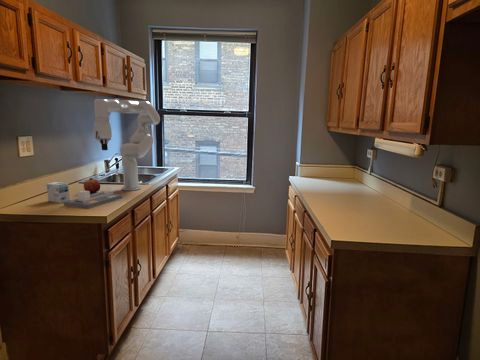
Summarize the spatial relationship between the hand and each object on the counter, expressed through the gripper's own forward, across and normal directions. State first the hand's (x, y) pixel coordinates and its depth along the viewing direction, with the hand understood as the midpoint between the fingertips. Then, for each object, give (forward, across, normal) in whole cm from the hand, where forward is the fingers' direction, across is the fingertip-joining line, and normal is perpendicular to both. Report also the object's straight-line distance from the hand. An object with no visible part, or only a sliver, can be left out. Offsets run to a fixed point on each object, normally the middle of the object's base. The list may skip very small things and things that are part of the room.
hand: (104, 150), depth 199 cm
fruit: (+29, -2, -15) cm, 33 cm away
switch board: (+29, +15, +4) cm, 33 cm away
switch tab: (+26, +22, +4) cm, 35 cm away
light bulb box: (+29, +22, -16) cm, 40 cm away
